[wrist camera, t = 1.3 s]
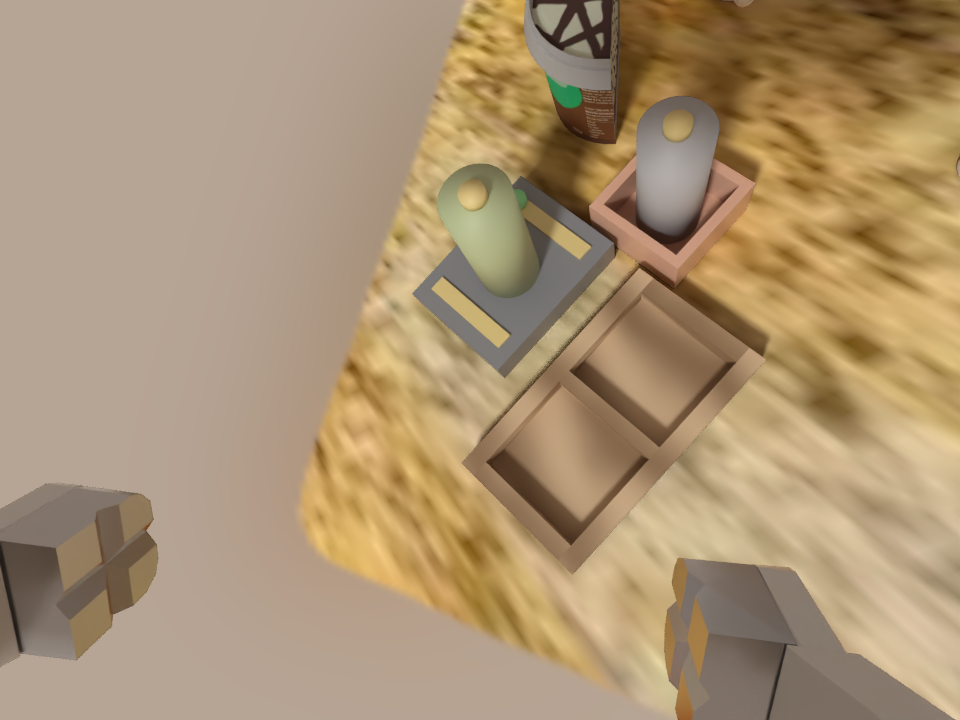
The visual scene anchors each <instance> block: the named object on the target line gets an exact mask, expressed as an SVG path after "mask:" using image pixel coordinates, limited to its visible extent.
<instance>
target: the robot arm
mask: <svg viewBox="0 0 960 720" xmlns="http://www.w3.org/2000/svg"><path fill="white" fill-rule="evenodd" d="M957 170H958V174H959V177H960V159H959V161H958V164H957ZM153 520H154V519H153V513H152V507H151V502H150V500H149V499H147V498H146V497H145V496H144V495H142V494H138V493H131V492H123V491H117V490H109V489H103V488H95V487H88V486H86V487H84V486H81V485H74V484H64V483H49V484H44V485H43V486H41V487H39V488H37V489H35V490H34V491H32V492H30V493H28V494H27V495H25V496H23V497H21V498H19V499H17V500H16V501H14V502H12V503H10V504H9V505H7V506H5V507H3V508H1V509H0V667H2V666H3V665H5V664H7V663H9V662H11V661H13V660H15V659H16V658H18V657H19V656H20V654H29V655H37V656H45V657H53V658H62V659H70V660H77V659H78V658H80V656H82V655H83V654H84V653H85V652H86V651H87V650H88V649H89V648H90V647H91V646H92V645H93V644H94V643H95V642H96V641H97V640H98V639H99V638H100V637H101V636H102V635H103V634H105V633H106V631H107V630H109V629H110V628H111V626H112V621H113V614H116V613H118V612H120V611H122V610H124V609H127V608H129V607H131V606H133V605H134V604H135V603H136V602H137V601H138V600H139V599H140V598H141V597H142V596H143V595H144V594H145V593H146V592H147V591H148V588H149V587H150V584H151V583H152V581H153V579H154V577H155V575H156V570H157V563H158V551H157V544H156V543H155V541H154V540H153V539H152V538H151V536H150V535H149V534H148V532H147V531H146V530H147V529H148V527H149V526H150V524H151V523H152V521H153ZM672 586H673V589H674V593H675V597H676V600H677V601H676V602H675V603H674V604H673V605H672V606H671V607H669V608H668V609H667V616H666V623H665V639H664V652H665V661H666V668H667V673H668V678H669V681H670V682H671V683H672V684H673V685H674V686H675V687H676V688H677V690H678V695H677V701H676V707H675V710H676V714H677V719H678V720H955V719H953V718H952V717H950V716H949V715H947V714H946V713H945V712H943V711H942V710H940V709H939V708H937V707H936V706H934V705H933V704H931V703H930V702H928V701H927V700H925V699H924V698H923V697H921V696H920V695H918V694H917V693H915V692H914V691H912V690H911V689H909V688H908V687H906V686H905V685H904V684H902V683H901V682H899V681H898V680H896V679H895V678H893V677H892V676H890V675H889V674H887V673H886V672H884V671H883V670H882V669H880V668H879V667H877V666H876V665H874V664H873V663H871V662H870V661H868V660H867V659H865V658H864V657H863V656H861V655H860V654H852V653H847V652H846V651H845V649H844V648H843V646H842V644H841V643H840V641H839V640H838V638H837V636H836V635H835V633H834V632H833V630H832V629H831V627H830V625H829V624H828V622H827V621H826V619H825V617H824V616H823V614H822V613H821V611H820V610H819V608H818V606H817V605H816V603H815V602H814V600H813V598H812V597H811V595H810V594H809V592H808V590H807V589H806V587H805V586H804V584H803V583H802V581H801V579H800V578H799V576H798V575H797V573H796V572H795V571H794V570H792V569H791V568H789V567H777V566H765V565H753V564H752V565H749V564H738V563H727V562H717V561H706V560H695V559H685V558H678V559H677V562H676V565H675V567H674V573H673V578H672Z"/></svg>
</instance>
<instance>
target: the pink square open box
mask: <svg viewBox="0 0 960 720" xmlns="http://www.w3.org/2000/svg"><path fill="white" fill-rule="evenodd" d="M755 184H756V183H754V182H752V181H751V180H749V179H747V178H746V177H744V176H742V175H741V174H739V173H737V172H736V171H734V170H733V169H731V168H729V167H728V166H726V165H724V164H723V163H721V162H719V161H718V160H716V159H714V158H713V161H712V166H711V170H710V174H709V179H708V183H707V188H706V192H705V197H704V201H703V205H702V210H701V214H700V219H699V222H698V225H697V227H696V229H695V230H694V232H693V233H692V234H691V235H690V236H688V237H687V238H686V239H684V240H682V241H680V242H677V243H673V244H660V243H658V242H657V241H655V240H654V239H653V238H651V237H650V236H648V235H647V234H645V233H644V232H643V231H641V230H640V229H638V227H637V224H636V156H635V157H634V158H633V159H632V160H631V161H630V162H629V163H628V164H627V165H626V167H625V168H624V169H623V170H622V171H621V172H620V173H619V174H618V175H617V176H616V177H615V179H614V180H613V181H612V182H611V183H610V184H609V185H608V186H607V187H606V188H605V189H604V191H603V192H602V193H601V194H600V195H599V196H598V197H597V198H596V199H595V200H594V201H593V202H592V204H591V205H590V206H589V210H590V218H591V225H592V228H594V229H595V230H596V231H598V232H599V233H600V234H602V235H603V236H605V237H606V238H607V239H609V240H610V241H612V242H613V243H614V246H616V247H617V248H618V249H620V250H621V251H623V252H624V253H625V254H627V255H628V256H630V257H631V258H632V259H634V260H635V261H637V262H638V263H639V264H641V265H642V266H643V267H645V268H646V269H648V270H649V271H650V272H652V273H653V274H655V275H656V276H657V277H659V278H660V279H662V280H663V281H664V282H666V283H667V284H668V285H670V286H671V287H673V288H675V287H676V286H677V285H678V284H679V283H680V282H681V281H682V280H683V279H684V277H685V276H686V275H687V274H688V273H689V272H690V271H691V270H692V269H693V268H694V266H695V265H696V264H697V263H698V262H699V261H700V260H701V259H702V258H703V257H704V256H705V254H706V253H707V252H708V251H709V250H710V249H711V248H712V247H713V246H714V245H715V243H716V242H717V241H718V240H719V239H720V238H721V237H722V236H723V235H724V234H725V232H726V231H727V230H728V229H729V228H730V227H731V226H732V225H733V224H734V223H735V221H736V220H737V219H738V218H739V217H740V216H741V215H742V214H743V213H744V212H745V210H746V208H747V206H748V203H749V200H750V198H751V195H752V192H753V190H754V187H755Z"/></svg>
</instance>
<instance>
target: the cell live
mask: <svg viewBox="0 0 960 720" xmlns="http://www.w3.org/2000/svg"><path fill="white" fill-rule="evenodd" d="M437 209H438V213H439V216H440V218H441V220H442V222H443V223H444V225H445V226H446V228H447V229H448V231H449V232H450V234H451V236H452V237H453V239H454V240H455V242H456V243H457V245H458V246H459V248H460V250H461V251H462V253H463V254H464V256H465V257H466V259H467V260H468V262H469V264H470V265H471V267H472V268H473V270H474V271H475V273H476V274H477V276H478V278H479V279H480V281H481V282H482V284H483V285H484V287H485V288H486V289H487V290H488V291H489V292H490V293H491V294H493V295H495V296H498V297H501V298H513V297H517V296H520V295H522V294H524V293H526V292H527V291H528V290H529V289H530V288H531V287H532V286H533V285H534V284H535V282H536V281H537V278H538V276H539V272H540V262H539V258H538V256H537V253H536V250H535V247H534V245H533V242H532V239H531V236H530V234H529V231H528V228H527V225H526V223H525V220H524V217H523V214H522V212H521V209H520V206H519V203H518V200H517V198H516V195H515V192H514V189H513V187H512V184H511V182H510V180H509V178H508V176H507V175H506V174H505V173H504V172H503V171H502V170H500V169H499V168H497V167H495V166H492V165H489V164H472V165H468V166H465V167H463V168H461V169H459V170H457V171H456V172H454V173H453V174H452V175H451V176H450V177H449V178H448V179H447V180H446V181H445V182H444V184H443V186H442V187H441V189H440V192H439V195H438V199H437Z"/></svg>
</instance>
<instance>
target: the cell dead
mask: <svg viewBox="0 0 960 720" xmlns="http://www.w3.org/2000/svg"><path fill="white" fill-rule="evenodd" d="M718 135H719V120H718V117H717V115H716V113H715V111H714V110H713V109H712V108H711V107H710V106H709V105H708V104H707V103H705V102H704V101H702V100H700V99H697V98H694V97H689V96H676V97H670V98H667V99H664V100H661V101H659V102H657V103H656V104H654V105H653V106H651V107H650V108H649V109H648V110H647V111H646V112H645V113H644V114H643V116H642V118H641V119H640V121H639V124H638V127H637V154H636V224H637V227H638V229H640V230H641V231H643V232H644V233H645V234H647V235H648V236H650V237H651V238H653V239H654V240H655V241H657V242H658V243H660V244H673V243H677V242H680V241H682V240H684V239H686V238H687V237H688V236H690V235H691V234H692V233H693V232H694V230H695V229H696V227H697V225H698V222H699V219H700V214H701V210H702V205H703V201H704V197H705V192H706V188H707V183H708V179H709V174H710V170H711V166H712V161H713V157H714V152H715V148H716V144H717V139H718Z"/></svg>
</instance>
